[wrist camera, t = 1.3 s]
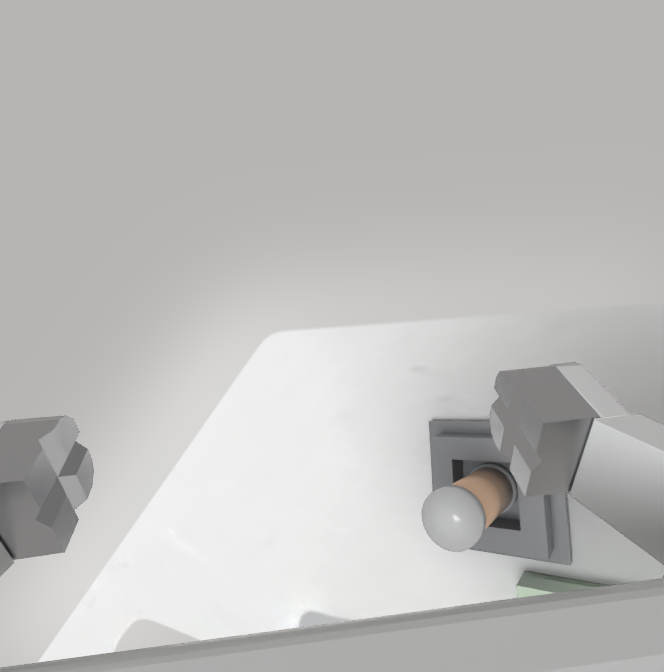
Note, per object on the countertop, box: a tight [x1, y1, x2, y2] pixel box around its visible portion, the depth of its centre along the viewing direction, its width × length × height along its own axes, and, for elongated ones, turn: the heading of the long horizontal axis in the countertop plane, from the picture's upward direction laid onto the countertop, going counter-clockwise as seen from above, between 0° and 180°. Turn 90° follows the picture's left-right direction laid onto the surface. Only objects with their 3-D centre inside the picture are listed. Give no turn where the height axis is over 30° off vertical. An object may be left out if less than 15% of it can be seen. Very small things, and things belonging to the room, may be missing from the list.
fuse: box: [422, 463, 518, 552], centre depth 39 cm, size 4×4×12 cm
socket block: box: [429, 420, 572, 565], centre depth 43 cm, size 12×12×4 cm
